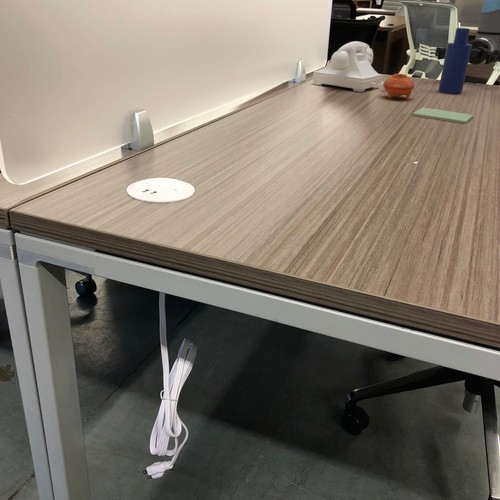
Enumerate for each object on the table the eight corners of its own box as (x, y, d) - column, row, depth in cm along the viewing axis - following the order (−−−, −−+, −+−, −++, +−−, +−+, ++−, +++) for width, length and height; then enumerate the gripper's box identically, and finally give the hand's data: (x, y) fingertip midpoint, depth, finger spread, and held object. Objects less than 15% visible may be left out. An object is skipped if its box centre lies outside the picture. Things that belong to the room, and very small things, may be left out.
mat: (473, 117, 118) (473, 114, 118) (465, 123, 112) (465, 121, 112) (422, 109, 124) (422, 107, 124) (412, 115, 118) (412, 113, 118)
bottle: (463, 92, 148) (477, 28, 140) (458, 95, 143) (472, 29, 135) (441, 89, 151) (454, 27, 143) (435, 92, 146) (448, 28, 138)
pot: (415, 96, 138) (419, 71, 134) (407, 107, 133) (410, 82, 129) (387, 91, 141) (389, 67, 137) (377, 102, 136) (380, 78, 132)
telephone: (347, 77, 166) (352, 35, 160) (406, 85, 154) (414, 41, 148) (303, 85, 149) (306, 40, 143) (366, 96, 137) (372, 47, 131)
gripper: (517, 67, 159) (505, 75, 144) (437, 59, 171) (418, 65, 156) (524, 41, 156) (512, 46, 140) (442, 35, 168) (422, 39, 152)
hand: (462, 56), depth 148 cm, fingers open, 13 cm apart
